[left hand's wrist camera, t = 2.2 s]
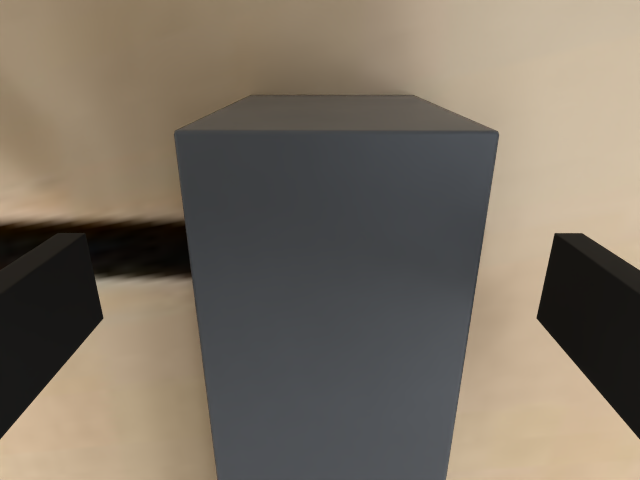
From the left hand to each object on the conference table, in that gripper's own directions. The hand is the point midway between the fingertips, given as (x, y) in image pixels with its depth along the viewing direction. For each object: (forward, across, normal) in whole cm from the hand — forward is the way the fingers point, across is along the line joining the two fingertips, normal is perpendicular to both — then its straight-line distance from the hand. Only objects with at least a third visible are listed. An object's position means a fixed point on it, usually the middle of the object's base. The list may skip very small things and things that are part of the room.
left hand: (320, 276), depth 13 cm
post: (+4, 0, -23) cm, 23 cm away
